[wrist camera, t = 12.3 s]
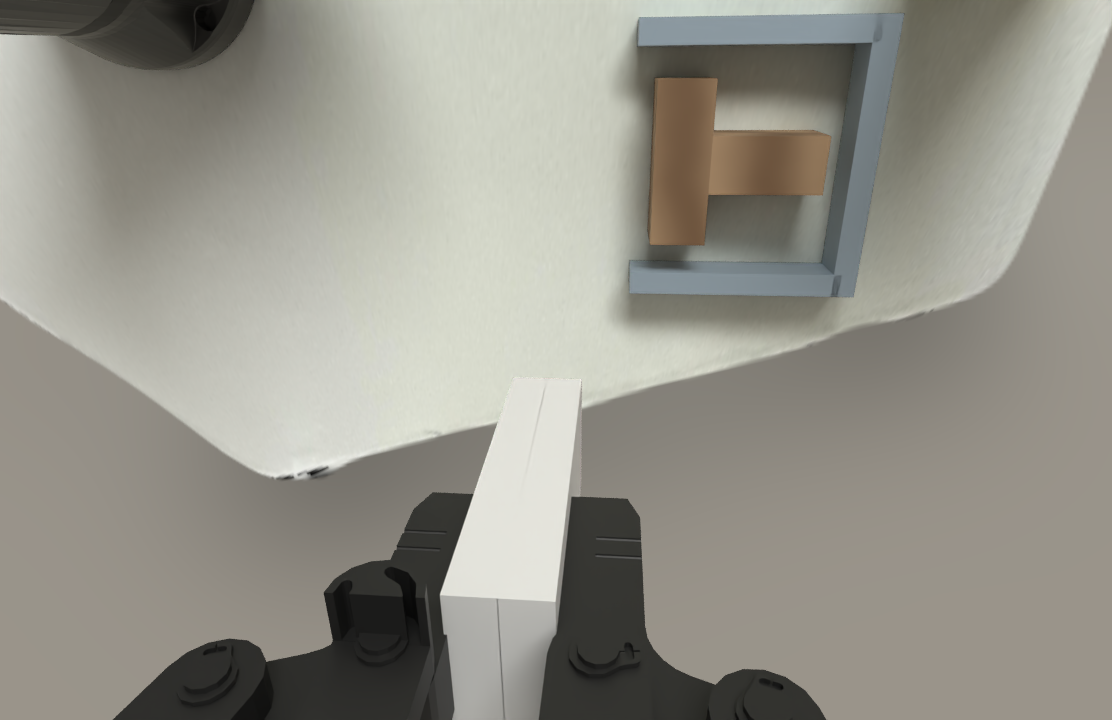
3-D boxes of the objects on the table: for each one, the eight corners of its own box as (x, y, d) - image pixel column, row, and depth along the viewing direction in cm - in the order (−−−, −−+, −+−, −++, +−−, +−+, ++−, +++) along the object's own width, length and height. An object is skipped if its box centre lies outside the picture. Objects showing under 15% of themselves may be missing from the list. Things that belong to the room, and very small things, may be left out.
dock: (628, 280, 49) (629, 293, 46) (638, 20, 42) (639, 17, 39) (840, 283, 48) (853, 297, 45) (885, 16, 41) (904, 13, 38)
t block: (647, 230, 47) (650, 244, 44) (654, 77, 43) (657, 79, 40) (799, 232, 46) (814, 246, 43) (821, 76, 42) (840, 77, 39)
